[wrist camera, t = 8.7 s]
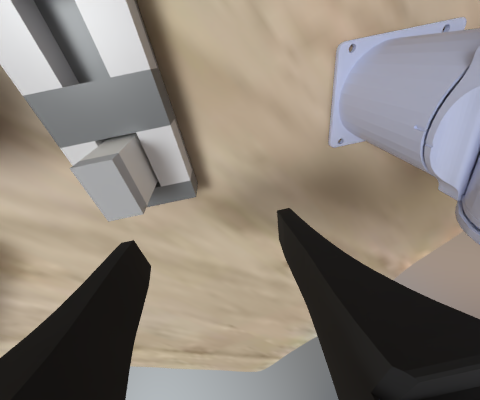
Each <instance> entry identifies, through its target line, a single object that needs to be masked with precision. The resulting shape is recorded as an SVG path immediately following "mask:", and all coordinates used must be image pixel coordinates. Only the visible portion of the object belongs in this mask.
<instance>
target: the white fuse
mask: <svg viewBox="0 0 480 400" xmlns="http://www.w3.org/2000/svg"><path fill="white" fill-rule="evenodd" d="M70 170H71V171H72V172H73V174H74V175H75V176H76V178H77V179H78V180H79V182H80V183H81V185H82V186H83V187H84V189H85V190H86V191H87V193H88V194H89V196H90V197H91V198H92V200H93V201H94V202H95V204H96V205H97V207H98V208H99V209H100V211H101V212H102V213H103V215H104V216H105V218H106V219H107V220H108V221H113V220H118V219H123V218H127V217H132V216H137V215H142V214H144V212H145V209H146V207H147V205H148V202H149V200H150V198H151V195H152V193H153V191H154V188H155V186H156V184H157V182H158V179H157V176H156V174H155V172H154V170H153V168H152V166H151V164H150V161H149V159H148V157H147V155H146V153H145V151H144V148H143V146H142V144H141V142H140V140H139V138H138V136H137V133H136V132H135V133H131V134H126V135H121V136H116V137H111V138H108V139H107V140H106V141H105V142H103V143H102V144H101V145H99V146H98V147H97V148H96V149H94V150H93V151H92V152H90V153H89V154H88V155H86V156H85V157H84V158H83V159H81V160H80V161H79V162H77V163H76V164H75V165H74V166H72V167H71V168H70Z"/></svg>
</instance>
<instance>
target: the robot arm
mask: <svg viewBox="0 0 480 400" xmlns="http://www.w3.org/2000/svg"><path fill="white" fill-rule="evenodd" d="M465 25H466V18H465V17H460V18H455V19H450V20H445V21H440V22H435V23H431V24H426V25H421V26H416V27H411V28H407V29H402V30H397V31H392V32H387V33H383V34H378V35H373V36H368V37H363V38H358V39H354V40H349V41H344V42H342V43H340V44H339V46H338V48H337V51H336V62H335V73H334V85H333V96H332V108H331V119H330V130H329V142H328V143H329V145H330V146H331V147H339V146H344V145H349V144H354V143H358V142H363V141H367V142H369V143H371V144H373V145H375V146H377V147H379V148H381V149H382V150H384V151H386V152H388V153H390V154H392V155H394V156H396V157H398V158H400V159H402V160H404V161H406V162H407V163H409V164H411V165H413V166H415V167H417V168H419V169H421V170H423V171H425V172H427V173H429V174H431V175H433V176H435V177H436V178H437V179H438V182H439V187H438V190H440V191H441V192H443V193H445V194H447V195H448V196H450V197H452V198H454V199H455V200H457V201H458V202H457V205H456V210H455V214H456V218H457V221H458V223H459V225H460V227H461V228H462V229H463V230H464V232H465V233H466V234H467V235H468V236H469V237H470V238H472V239H473V240H474V241H475V242H476V243H478V244H479V245H480V28H477V29H468V30H464V28H465ZM444 26H445V29H444V31H443V28H444ZM442 31H443V32H442ZM351 44H352V46H353V49H352V51H351V52H349V47H350V45H351ZM339 139H341V141H340V142H339V143H338V141H339ZM277 217H278V231H279V241H280V244H281V247H282V250H283V253H284V256H285V258H286V261H287V263H288V265H289V267H290V269H291V272H292V274H293V276H294V278H295V280H296V283H297V285H298V287H299V289H300V291H301V293H302V296H303V298H304V300H305V302H306V305H307V307H308V310H309V313H310V316H311V318H312V321H313V324H314V327H315V330H316V333H317V336H318V338H319V341H320V344H321V347H322V350H323V353H324V356H325V359H326V362H327V365H328V368H329V371H330V374H331V377H332V380H333V383H334V386H335V389H336V393H337V396H338V399H339V400H480V319H478V318H475V317H473V316H470V315H468V314H465V313H463V312H461V311H458V310H456V309H454V308H451V307H449V306H447V305H444V304H442V303H439V302H437V301H435V300H432V299H430V298H428V297H426V296H424V295H422V294H420V293H417V292H415V291H413V290H411V289H409V288H407V287H405V286H403V285H401V284H399V283H397V282H395V281H393V280H391V279H389V278H388V277H386V276H384V275H382V274H380V273H378V272H376V271H374V270H373V269H371V268H369V267H367V266H366V265H364V264H362V263H361V262H359V261H357V260H356V259H354V258H353V257H351V256H349V255H348V254H346V253H345V252H343V251H342V250H341V249H339V248H338V247H336V246H335V245H333V244H332V243H331V242H329V241H328V240H327V239H325V238H324V237H323V236H321V235H320V234H319V233H318V232H316V231H315V230H314V229H313V228H312V227H310V226H309V225H308V224H307V223H306V222H305V221H303V220H302V219H301V218H300V217H299V216H298V215H297V214H296V213H295V212H293V211H292V210H291V209H290V208H287V209H282V210H277ZM150 271H151V265H150V264H149V262H148V261H147V259H146V258H145V256H144V255H143V253H142V252H141V250H140V249H139V247H138V246H137V244H136V243H135V241H134V240H133V241H129V242H124V243H121V244H120V245H119V246H118V247H117V248H116V249H115V250H114V251H113V252H112V253H111V254H110V255H109V256H108V257H107V258H106V259H105V261H104V262H103V263H102V264H101V265H100V266H99V267H98V268H97V269H96V270H95V271H94V272H93V273H92V274H91V276H90V277H89V278H88V279H87V280H86V281H85V282H84V283H83V284H82V285H81V286H80V287H79V288H78V289H77V290H76V291H75V292H74V293H73V294H72V295H71V296H70V297H69V298H68V299H67V300H66V301H65V302H64V303H63V304H62V305H61V306H60V307H59V308H58V309H57V310H56V311H55V312H54V313H52V314H51V315H50V316H49V317H48V318H47V319H46V320H45V321H44V322H43V323H41V324H40V325H39V326H38V327H37V328H36V329H35V330H34V331H32V332H31V333H30V334H29V335H28V336H27V337H26V338H24V339H23V340H22V341H21V342H19V343H18V344H17V345H16V346H15V347H13V348H12V349H11V350H10V351H8V352H7V353H6V354H5V355H4V356H2V357H1V358H0V400H125V398H126V390H127V384H128V376H129V369H130V363H131V357H132V351H133V345H134V341H135V336H136V332H137V329H138V325H139V321H140V317H141V314H142V310H143V306H144V302H145V298H146V295H147V291H148V287H149V280H150Z"/></svg>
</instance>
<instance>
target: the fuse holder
mask: <svg viewBox="0 0 480 400" xmlns="http://www.w3.org/2000/svg"><path fill="white" fill-rule="evenodd" d="M0 65H1V66H2V67H3V69H4V70H5V72H6V73H7V74H8V76H9V77H10V79H11V80H12V81H13V83H14V84H15V86H16V87H17V88H18V90H19V91H20V93H21V94H22V95H23V97H24V98H25V100H26V101H27V102H28V104H29V105H30V107H31V108H32V110H33V111H34V112H35V114H36V115H37V117H38V118H39V119H40V121H41V122H42V124H43V125H44V126H45V128H46V129H47V131H48V132H49V133H50V135H51V136H52V138H53V139H54V140H55V142H56V143H57V145H58V146H59V147H60V149H61V150H62V152H63V153H64V154H65V156H66V157H67V159H68V160H69V161H70V163H71V164H72V166H74V165H75V164H76V163H77V162H79V161H80V160H81V159H83V158H84V157H85V156H86V155H88V154H89V153H90V152H92V151H93V150H94V149H96V148H97V147H98V146H99V145H101V144H102V143H103V142H105V141H106V140H107V139H108V138H111V137H116V136H121V135H126V134H131V133H135V132H136V133H137V136H138V138H139V140H140V142H141V144H142V146H143V148H144V151H145V153H146V155H147V157H148V159H149V161H150V164H151V166H152V168H153V170H154V172H155V174H156V176H157V179H158V182H157V184H156V186H155V188H154V191H153V193H152V195H151V198H150V200H149V202H148V205H147V207H150V206H155V205H160V204H165V203H169V202H174V201H179V200H184V199H189V198H193V197H196V194H197V184H198V183H197V180H196V177H195V174H194V171H193V168H192V165H191V162H190V159H189V156H188V153H187V150H186V147H185V144H184V141H183V138H182V135H181V132H180V129H179V126H178V123H177V120H176V117H175V114H174V112H173V109H172V106H171V103H170V100H169V97H168V94H167V91H166V88H165V85H164V82H163V79H162V76H161V73H160V70H159V67H158V64H157V61H156V58H155V55H154V52H153V49H152V46H151V43H150V40H149V37H148V34H147V31H146V29H145V26H144V23H143V20H142V17H141V14H140V11H139V8H138V5H137V2H136V0H0Z"/></svg>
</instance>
